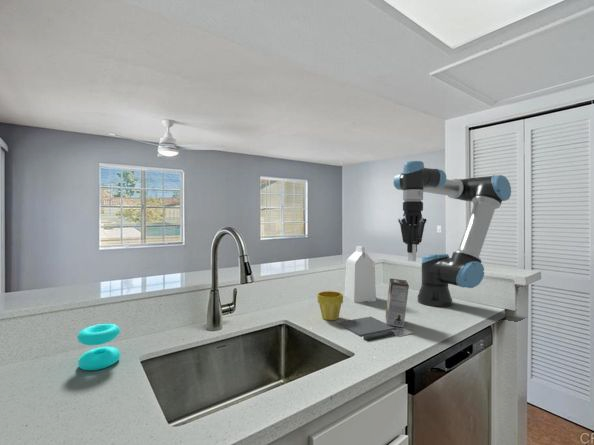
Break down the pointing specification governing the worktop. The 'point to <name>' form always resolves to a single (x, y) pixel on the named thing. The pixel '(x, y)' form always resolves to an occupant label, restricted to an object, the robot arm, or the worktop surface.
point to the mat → (365, 326)
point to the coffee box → (396, 302)
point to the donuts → (99, 355)
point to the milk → (360, 277)
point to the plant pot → (330, 304)
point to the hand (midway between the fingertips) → (411, 260)
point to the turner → (388, 334)
